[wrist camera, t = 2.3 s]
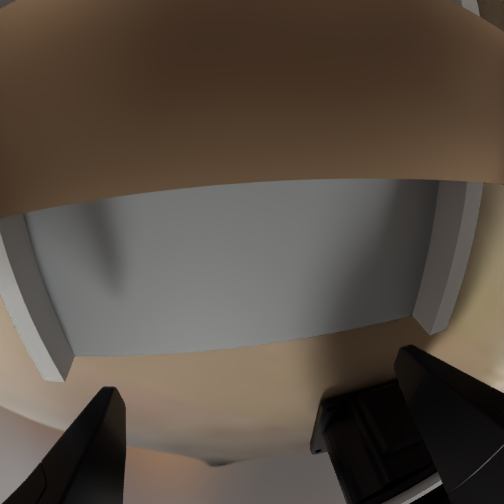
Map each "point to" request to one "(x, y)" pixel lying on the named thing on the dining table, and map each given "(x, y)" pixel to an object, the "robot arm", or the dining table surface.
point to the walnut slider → (242, 95)
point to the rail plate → (234, 264)
